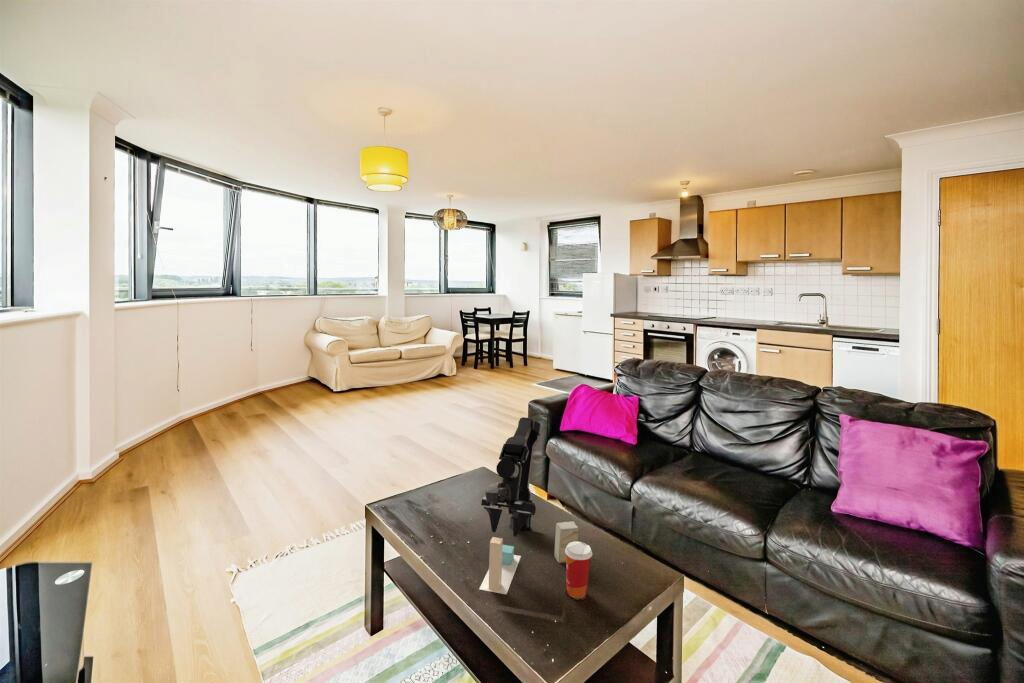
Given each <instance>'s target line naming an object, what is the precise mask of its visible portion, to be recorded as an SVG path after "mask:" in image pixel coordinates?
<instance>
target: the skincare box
mask: <svg viewBox="0 0 1024 683" xmlns="http://www.w3.org/2000/svg"><path fill="white" fill-rule="evenodd" d="M554 535H555V536H554V537H555V538H554V539H555V540H554V551H553V552H554V555H553V556H554V558H555V560H556V561H557V563H558V564H564V563H566V553H565V549H566V547H567V545H568V544H569V543H571V542H575V541H578V540H579V538H578V537H579V526H578V525H577V523H576V522H575V521H574V520H572V521H560V522H555V534H554ZM578 542H579V541H578Z"/></svg>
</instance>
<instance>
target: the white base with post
mask: <svg viewBox="0 0 1024 683" xmlns="http://www.w3.org/2000/svg"><path fill="white" fill-rule="evenodd" d="M503 539H504V538H502V537H498V536H497V537H496V536H492V538H491V539H490V541H489V553H488V554H489V556H488V558H489V560H488V570H487V572H486V574H485V576H484V578H483V581H482V583H481V584H480V586H479V588H478V590H479V591H480V590H481V591H486V592H492V593H497V594H502V595H507V594H508V591H509V588H510V586H511V583H512V582H513V578H514V576H515V573H516V570H517V568H518V565H519V564H520V560H521V558H522V555H516V554H514V559H513V561H512V564H511V566H510V565H504V564H502V549H503V545H504V540H503Z"/></svg>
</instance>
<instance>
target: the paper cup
mask: <svg viewBox="0 0 1024 683" xmlns="http://www.w3.org/2000/svg"><path fill="white" fill-rule="evenodd" d="M565 553H566V562H565V565H566V566H565V568H566V572H565V573H566V574H565V576H566V579H565V580H566V594H568V595H569V596H571V597H573V598H582V597H584V596H585V595H586V596H587V593H588V587H589V577H590V569H591V561H592V557H593V551H592V548H591V546H590V544H587V543H585V542H582V541H575V542H571V543H569V544H568V545H567V547H566V549H565ZM568 595H567V596H568ZM569 596H568V597H569Z"/></svg>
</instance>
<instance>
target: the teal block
mask: <svg viewBox="0 0 1024 683" xmlns="http://www.w3.org/2000/svg"><path fill="white" fill-rule="evenodd" d="M514 555H515V546H513V545H507V544H503V549H502V564H504V565H510V566H511V564H512V561H513V559H514Z"/></svg>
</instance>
